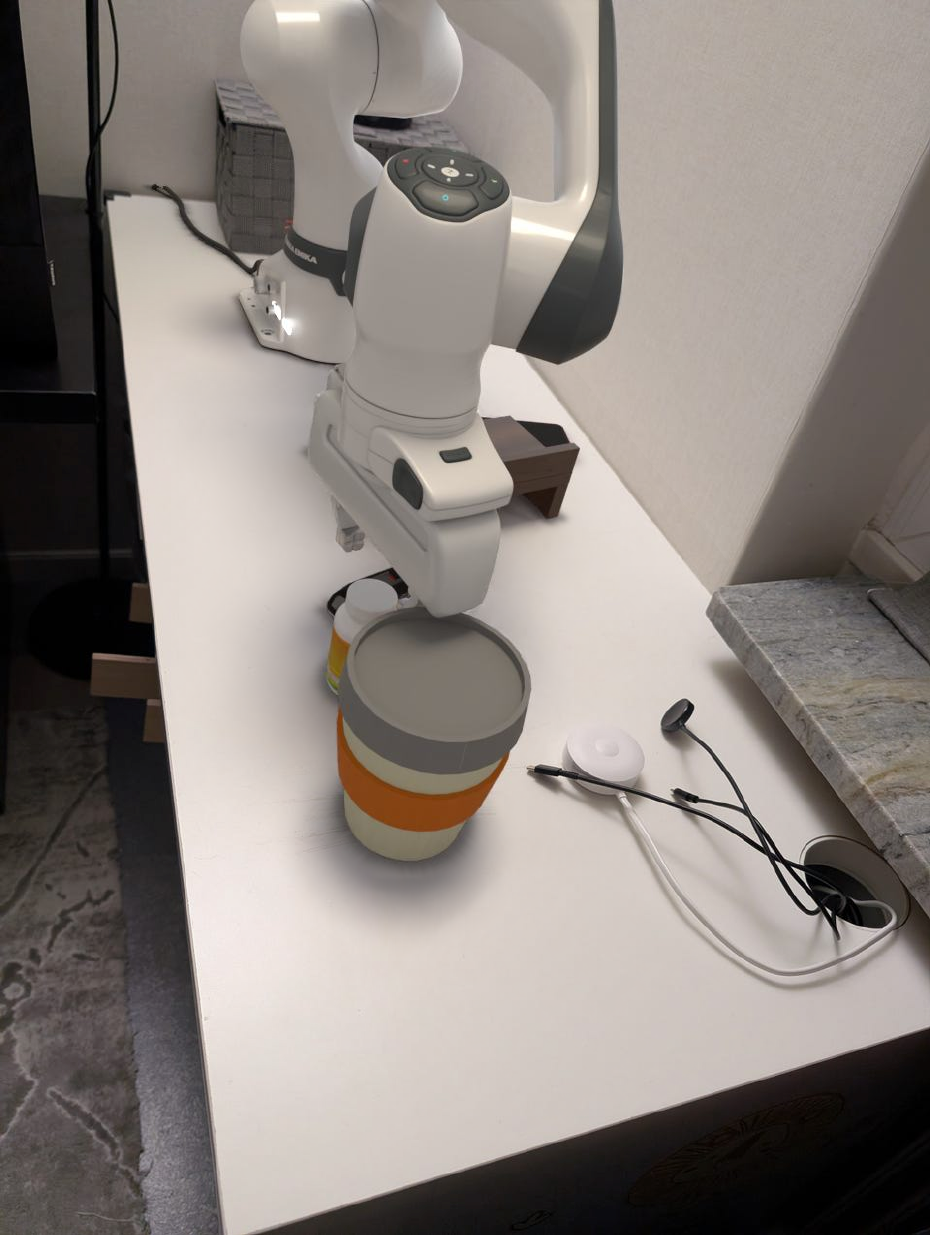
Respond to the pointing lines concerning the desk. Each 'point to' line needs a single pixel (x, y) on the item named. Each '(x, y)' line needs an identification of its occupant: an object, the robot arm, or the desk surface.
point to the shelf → (533, 464)
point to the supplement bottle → (356, 620)
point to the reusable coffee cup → (425, 727)
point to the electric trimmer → (386, 576)
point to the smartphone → (545, 432)
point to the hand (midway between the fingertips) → (378, 582)
